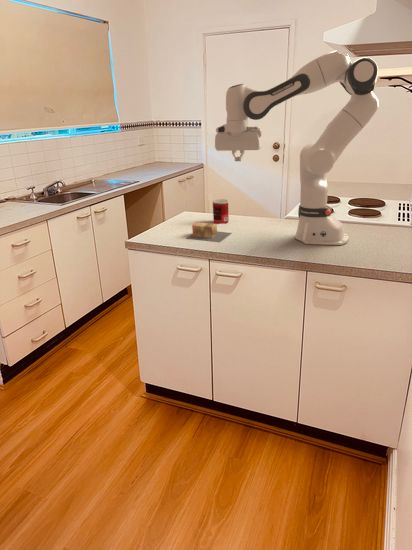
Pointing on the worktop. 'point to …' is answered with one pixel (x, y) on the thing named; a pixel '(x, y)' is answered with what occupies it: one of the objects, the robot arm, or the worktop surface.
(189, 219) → the worktop surface
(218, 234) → the slate mat
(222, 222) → the canned food
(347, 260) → the worktop surface
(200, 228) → the oak block
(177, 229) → the worktop surface
